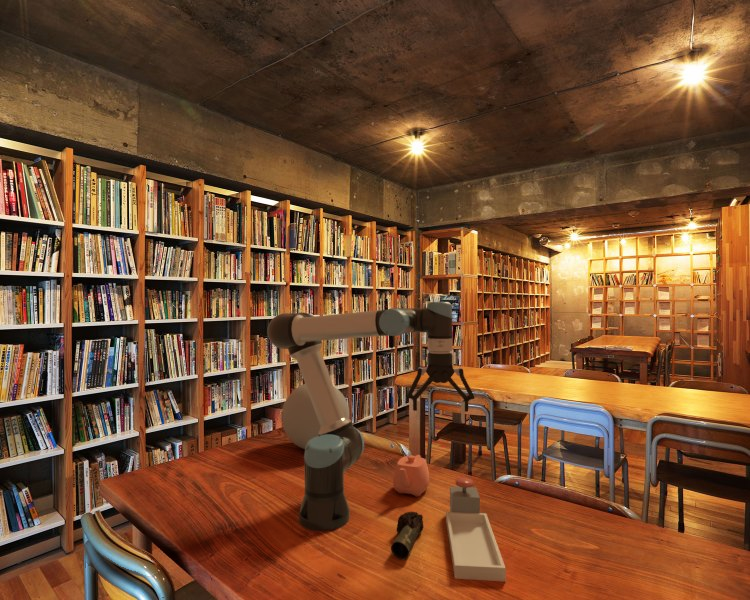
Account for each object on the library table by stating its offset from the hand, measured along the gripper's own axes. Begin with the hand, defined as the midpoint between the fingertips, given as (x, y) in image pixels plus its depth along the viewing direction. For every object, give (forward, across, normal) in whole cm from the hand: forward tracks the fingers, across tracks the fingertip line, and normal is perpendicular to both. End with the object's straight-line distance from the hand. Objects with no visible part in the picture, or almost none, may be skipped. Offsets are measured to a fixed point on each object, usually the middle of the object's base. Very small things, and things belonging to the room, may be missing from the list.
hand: (440, 421), depth 128 cm
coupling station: (+29, +7, -17) cm, 34 cm away
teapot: (+29, -9, +16) cm, 35 cm away
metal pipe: (+31, -11, -21) cm, 39 cm away
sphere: (+29, -52, +57) cm, 82 cm away
